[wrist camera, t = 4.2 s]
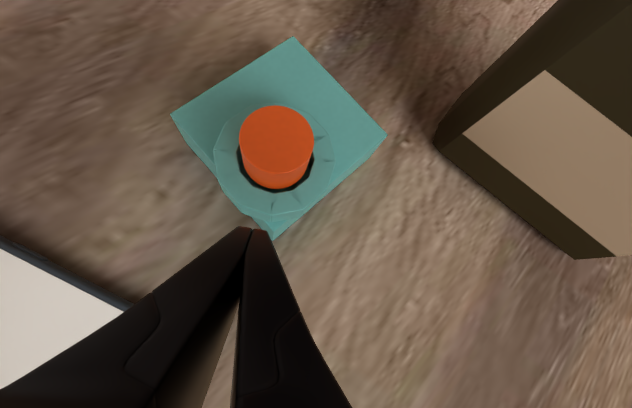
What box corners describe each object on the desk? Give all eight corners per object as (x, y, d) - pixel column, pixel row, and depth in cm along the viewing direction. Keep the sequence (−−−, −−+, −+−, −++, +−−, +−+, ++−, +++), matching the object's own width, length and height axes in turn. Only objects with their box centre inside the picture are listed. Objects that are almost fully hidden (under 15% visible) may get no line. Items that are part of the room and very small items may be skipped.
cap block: (268, 251, 21) (269, 239, 16) (178, 147, 22) (147, 100, 16) (372, 161, 24) (404, 123, 19) (289, 73, 25) (295, 11, 19)
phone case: (182, 324, 20) (-50, 205, 19) (175, 327, 18) (-77, 198, 17) (91, 477, 17) (-181, 345, 16) (74, 496, 15) (-226, 352, 15)
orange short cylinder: (272, 202, 17) (273, 188, 14) (229, 154, 17) (222, 132, 14) (320, 163, 18) (329, 143, 15) (279, 118, 18) (280, 92, 15)
